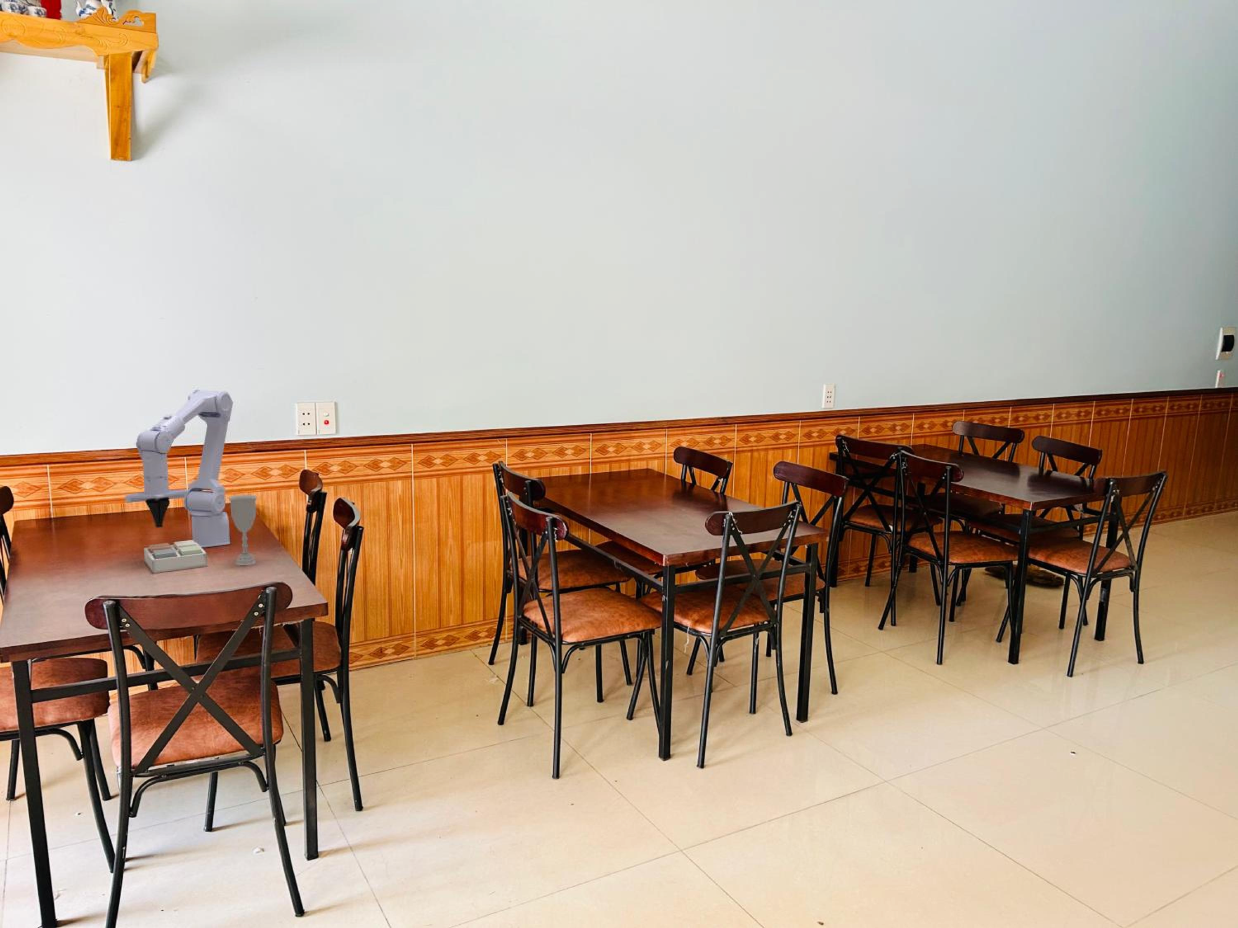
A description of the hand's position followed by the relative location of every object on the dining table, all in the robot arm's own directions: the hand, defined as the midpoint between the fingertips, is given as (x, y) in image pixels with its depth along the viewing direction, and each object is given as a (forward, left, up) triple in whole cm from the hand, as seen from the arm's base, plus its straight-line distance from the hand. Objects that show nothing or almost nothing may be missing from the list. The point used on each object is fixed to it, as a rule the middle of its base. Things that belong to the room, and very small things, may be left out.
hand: (158, 526), depth 238 cm
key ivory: (-6, 0, -8) cm, 10 cm away
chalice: (-19, +11, -10) cm, 24 cm away
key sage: (-6, +6, -8) cm, 12 cm away
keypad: (-3, +3, -10) cm, 11 cm away
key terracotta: (0, 0, -8) cm, 8 cm away
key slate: (0, +6, -8) cm, 10 cm away
